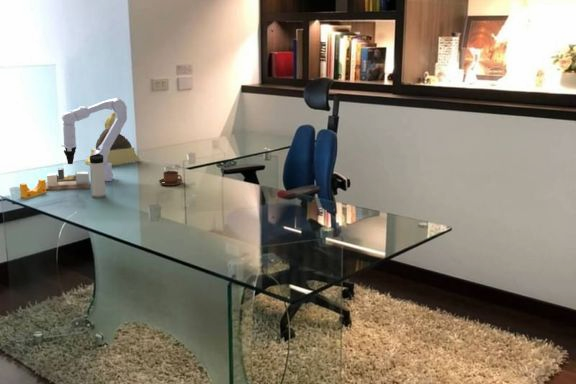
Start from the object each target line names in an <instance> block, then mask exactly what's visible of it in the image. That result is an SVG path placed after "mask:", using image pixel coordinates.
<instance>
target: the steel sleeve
mask: <svg viewBox="0 0 576 384" xmlns="http://www.w3.org/2000/svg"><path fill="white" fill-rule="evenodd" d="M75 175H76V185H89V186H90V175H89V171H76V172H75Z"/></svg>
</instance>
